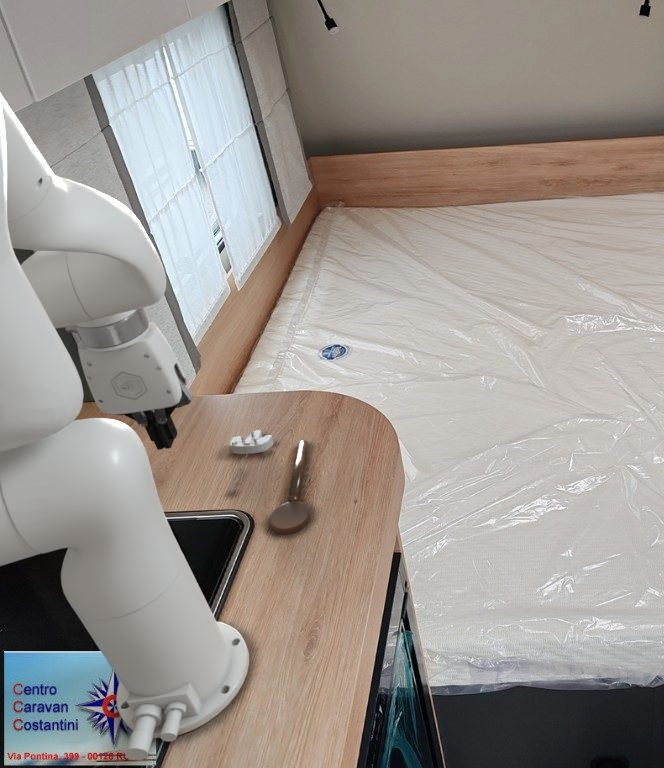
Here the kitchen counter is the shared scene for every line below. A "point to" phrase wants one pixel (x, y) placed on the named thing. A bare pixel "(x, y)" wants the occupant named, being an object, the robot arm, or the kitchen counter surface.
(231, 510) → the kitchen counter surface
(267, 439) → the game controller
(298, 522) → the spoon
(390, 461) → the kitchen counter surface
